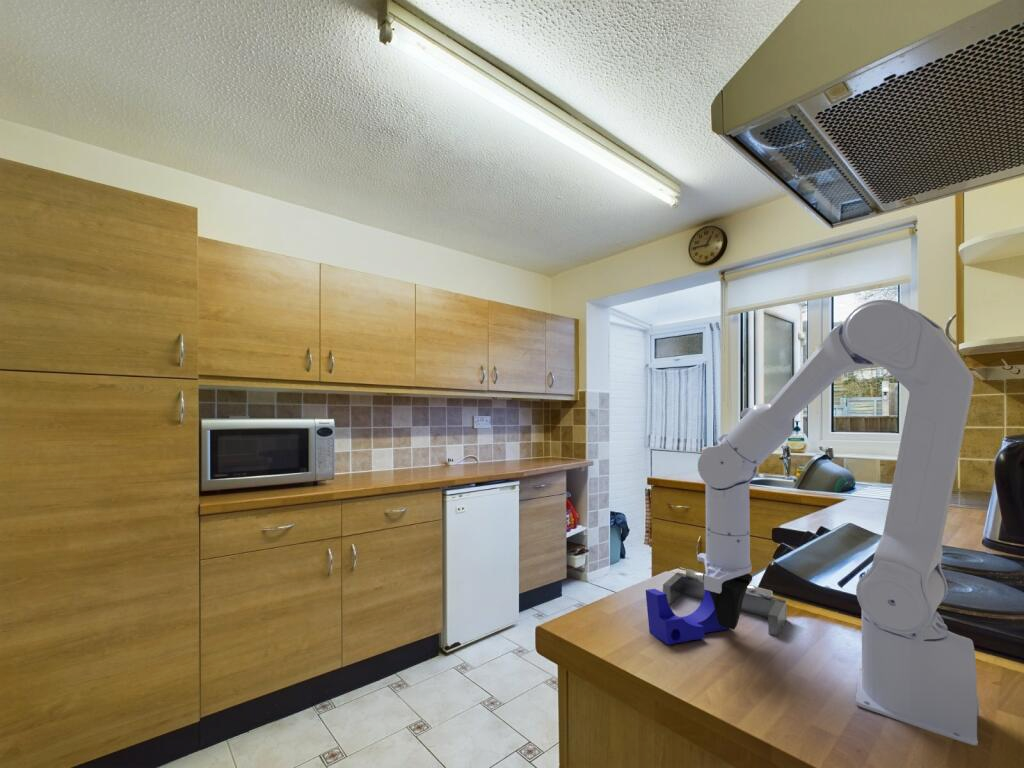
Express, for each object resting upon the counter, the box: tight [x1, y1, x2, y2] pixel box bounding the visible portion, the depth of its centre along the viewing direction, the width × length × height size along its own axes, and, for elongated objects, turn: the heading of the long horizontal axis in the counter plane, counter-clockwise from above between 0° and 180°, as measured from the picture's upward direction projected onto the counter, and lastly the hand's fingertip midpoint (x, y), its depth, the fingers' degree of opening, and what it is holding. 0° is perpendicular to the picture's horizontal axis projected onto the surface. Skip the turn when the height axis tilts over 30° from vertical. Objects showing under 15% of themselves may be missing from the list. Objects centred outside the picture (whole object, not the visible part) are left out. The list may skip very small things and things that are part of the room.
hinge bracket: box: [662, 569, 787, 637], centre depth 74 cm, size 17×7×4 cm, turn 50°
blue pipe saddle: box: [645, 588, 730, 645], centre depth 68 cm, size 12×4×6 cm, turn 106°
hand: (727, 625), depth 66 cm, fingers closed
